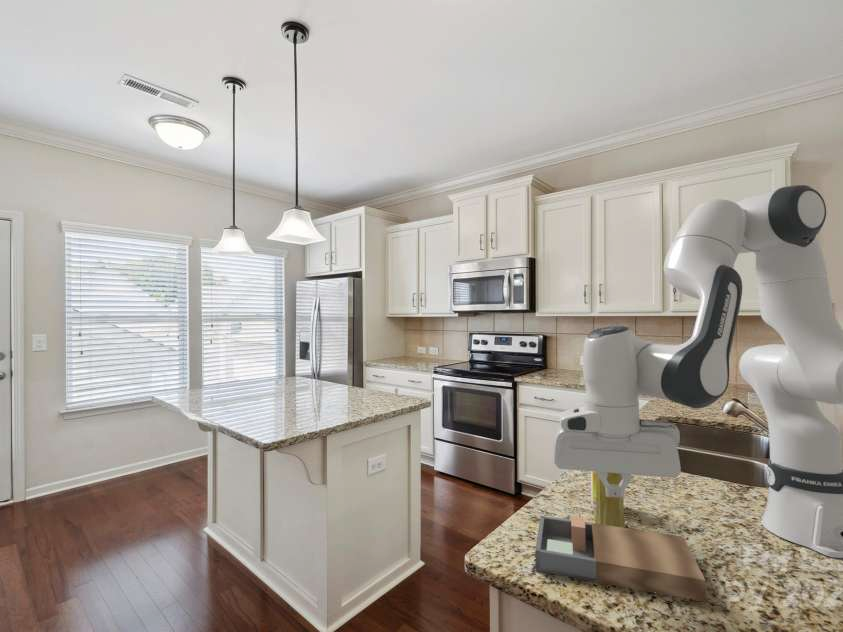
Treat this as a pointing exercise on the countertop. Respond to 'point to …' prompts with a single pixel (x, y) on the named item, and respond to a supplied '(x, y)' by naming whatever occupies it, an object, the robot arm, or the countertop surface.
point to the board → (646, 562)
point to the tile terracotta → (578, 533)
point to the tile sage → (560, 546)
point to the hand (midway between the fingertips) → (615, 496)
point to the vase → (609, 503)
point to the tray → (562, 563)
